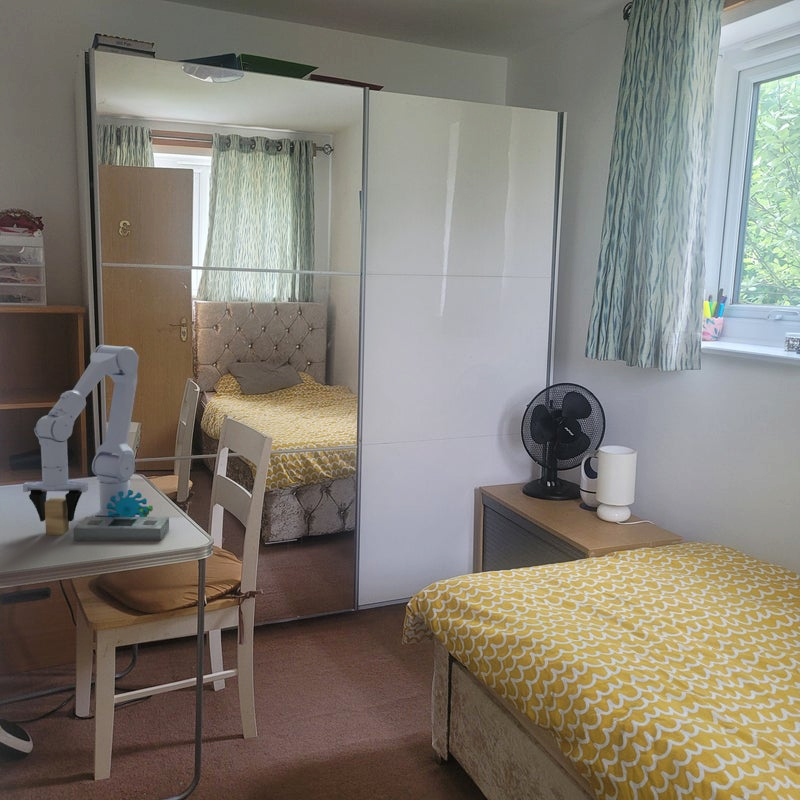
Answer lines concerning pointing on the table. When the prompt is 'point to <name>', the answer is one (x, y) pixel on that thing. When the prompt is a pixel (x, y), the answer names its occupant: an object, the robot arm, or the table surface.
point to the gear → (129, 506)
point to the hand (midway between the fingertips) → (57, 520)
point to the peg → (56, 516)
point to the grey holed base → (121, 529)
